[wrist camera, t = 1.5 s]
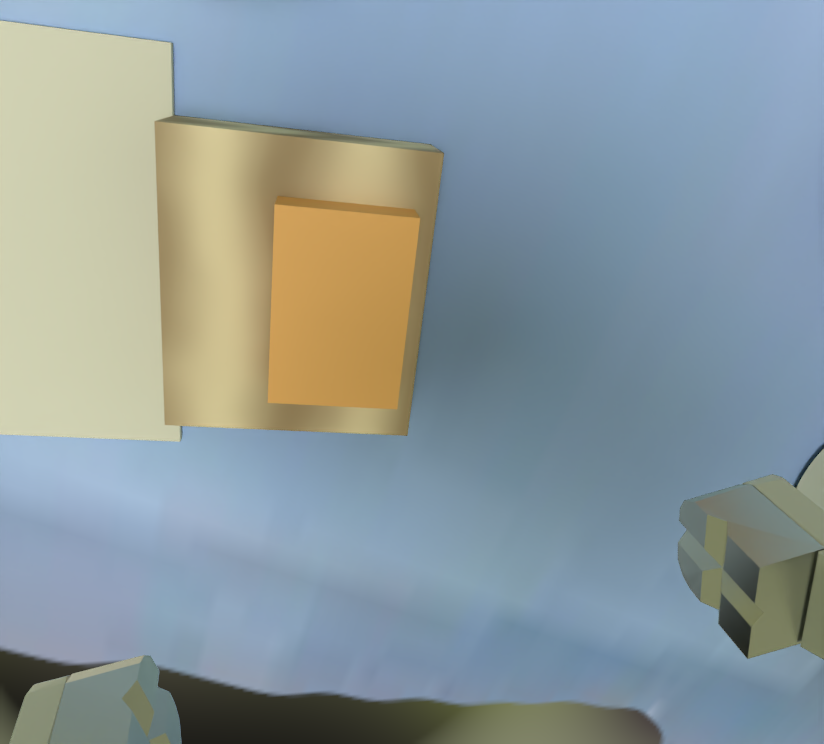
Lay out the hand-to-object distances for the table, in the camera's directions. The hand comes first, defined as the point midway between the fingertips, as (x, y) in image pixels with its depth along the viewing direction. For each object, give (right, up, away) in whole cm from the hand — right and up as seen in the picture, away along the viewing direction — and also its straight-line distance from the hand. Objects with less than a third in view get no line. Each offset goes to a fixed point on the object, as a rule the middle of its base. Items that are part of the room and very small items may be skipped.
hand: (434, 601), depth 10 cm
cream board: (-20, +9, +22) cm, 31 cm away
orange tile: (-4, +7, +21) cm, 22 cm away
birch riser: (-6, +9, +24) cm, 27 cm away
